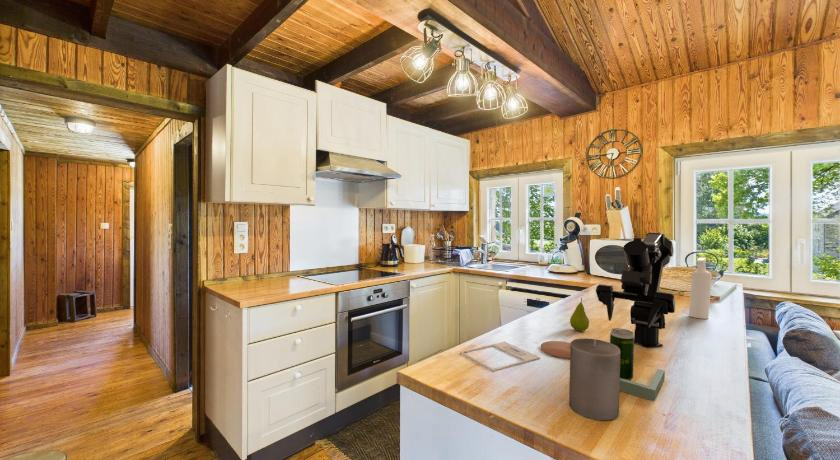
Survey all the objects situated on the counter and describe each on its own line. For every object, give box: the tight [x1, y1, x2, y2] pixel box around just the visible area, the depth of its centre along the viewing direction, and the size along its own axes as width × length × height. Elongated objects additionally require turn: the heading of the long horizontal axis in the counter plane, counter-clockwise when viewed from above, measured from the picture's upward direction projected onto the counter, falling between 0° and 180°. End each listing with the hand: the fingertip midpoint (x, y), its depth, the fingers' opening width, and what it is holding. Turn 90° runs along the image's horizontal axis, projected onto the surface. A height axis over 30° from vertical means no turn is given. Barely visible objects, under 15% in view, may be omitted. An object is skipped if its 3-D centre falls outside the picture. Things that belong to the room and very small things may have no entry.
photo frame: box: [459, 341, 541, 373], centre depth 104 cm, size 15×1×18 cm
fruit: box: [569, 297, 590, 332], centre depth 128 cm, size 6×6×12 cm
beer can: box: [609, 327, 635, 381], centre depth 90 cm, size 5×5×12 cm
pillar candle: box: [568, 338, 621, 421], centre depth 75 cm, size 10×10×15 cm
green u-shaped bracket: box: [620, 368, 666, 402], centre depth 90 cm, size 14×17×2 cm
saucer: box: [540, 340, 571, 360], centre depth 108 cm, size 13×13×1 cm
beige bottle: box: [688, 257, 713, 320], centre depth 148 cm, size 7×12×25 cm, turn 131°
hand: (628, 323), depth 95 cm, fingers open, 9 cm apart
